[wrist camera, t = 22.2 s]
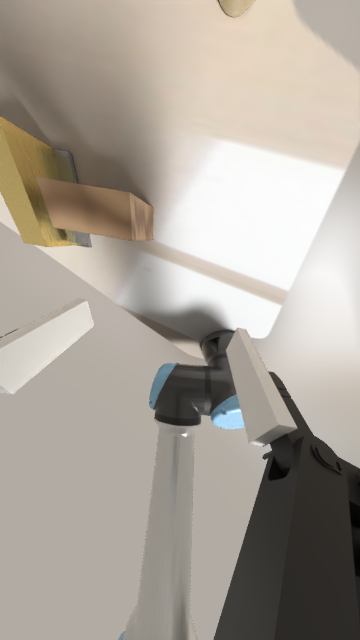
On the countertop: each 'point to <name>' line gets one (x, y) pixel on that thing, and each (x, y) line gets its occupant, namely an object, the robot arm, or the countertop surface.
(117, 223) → the brown wooden block
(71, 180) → the cradle
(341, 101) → the countertop surface
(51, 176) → the bar
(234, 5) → the flower pot
